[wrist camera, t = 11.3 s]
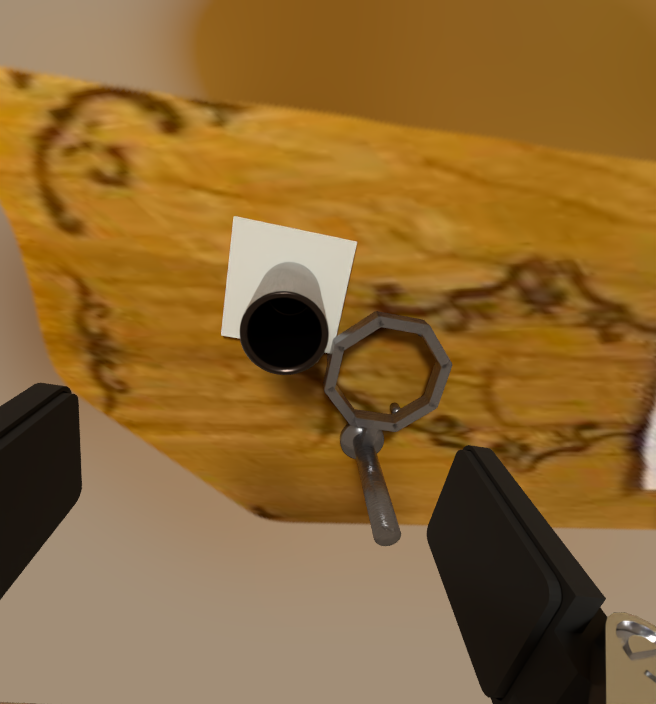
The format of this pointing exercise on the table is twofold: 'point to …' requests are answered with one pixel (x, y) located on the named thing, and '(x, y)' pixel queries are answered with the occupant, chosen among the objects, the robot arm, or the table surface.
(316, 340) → the gray hollow cylinder
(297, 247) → the coaster
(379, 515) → the ring stand
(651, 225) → the table surface
